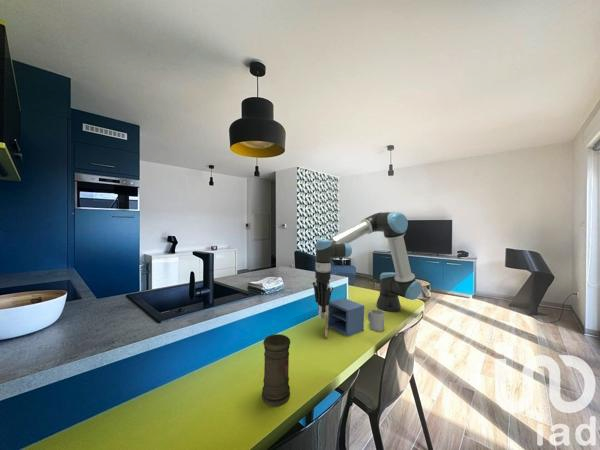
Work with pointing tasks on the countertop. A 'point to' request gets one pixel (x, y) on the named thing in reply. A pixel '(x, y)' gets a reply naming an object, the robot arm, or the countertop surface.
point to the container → (276, 370)
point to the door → (326, 322)
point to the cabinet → (346, 316)
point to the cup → (376, 320)
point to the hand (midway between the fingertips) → (321, 318)
